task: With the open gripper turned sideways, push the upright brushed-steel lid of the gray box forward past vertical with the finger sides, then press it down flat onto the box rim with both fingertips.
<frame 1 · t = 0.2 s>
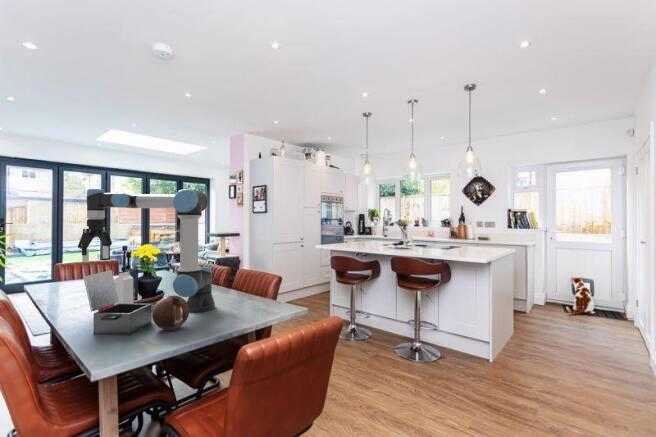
hand: (96, 260, 168), 28 cm above the table, fingers open, 13 cm apart
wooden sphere: (171, 329, 148), on the table
milk: (123, 315, 168), on the table
lid: (99, 290, 149), point 17 cm above the table, hinge at 103.0°
pepper mill: (104, 314, 169), on the table
gray box: (123, 328, 148), on the table
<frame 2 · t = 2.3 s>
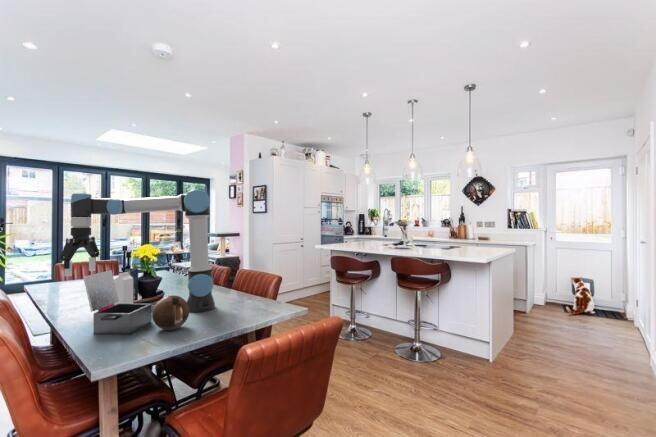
hand: (80, 273, 149), 25 cm above the table, fingers open, 13 cm apart
nothing on the table moved.
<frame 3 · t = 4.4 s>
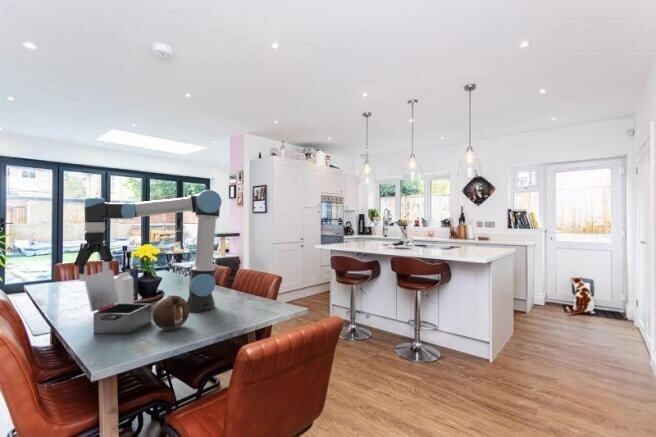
hand: (94, 278, 149), 23 cm above the table, fingers open, 13 cm apart
lid: (100, 290, 149), point 17 cm above the table, hinge at 101.9°, touching gripper
everything else where it was.
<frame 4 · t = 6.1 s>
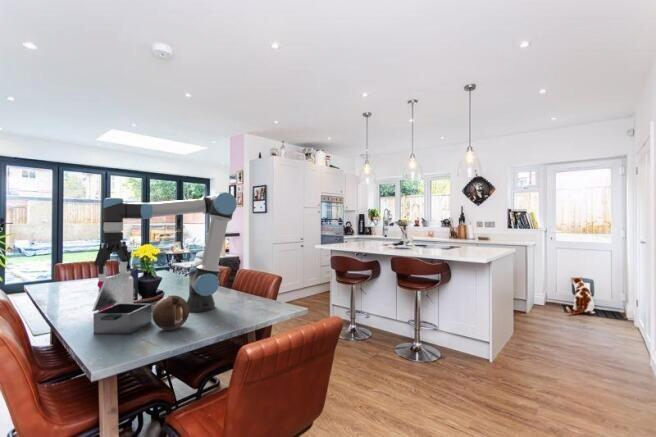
hand: (113, 278, 149), 23 cm above the table, fingers open, 13 cm apart
lid: (110, 289, 149), point 18 cm above the table, hinge at 67.7°
everything else where it was.
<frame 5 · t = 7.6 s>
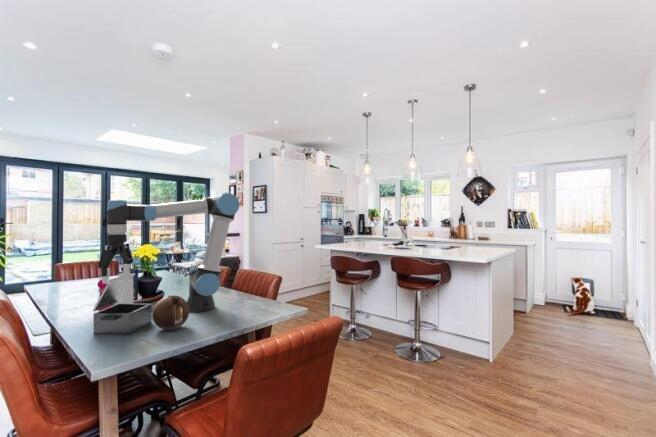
hand: (116, 280, 148), 22 cm above the table, fingers open, 13 cm apart
lid: (113, 290, 149), point 17 cm above the table, hinge at 60.0°, touching gripper
everything else where it was.
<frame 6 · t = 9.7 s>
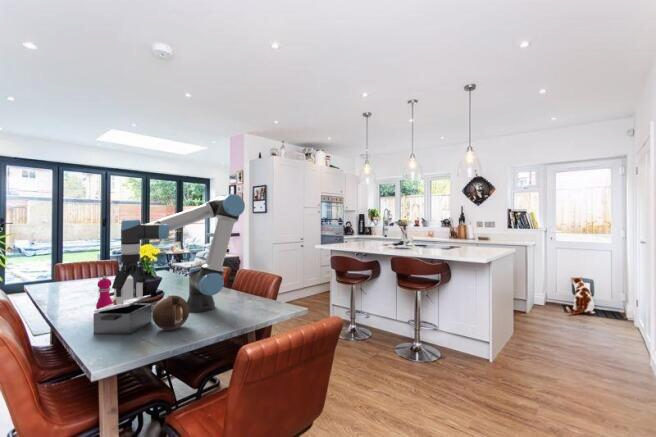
hand: (130, 300, 148), 13 cm above the table, fingers open, 13 cm apart
lid: (123, 301, 148), point 12 cm above the table, hinge at 11.4°, touching gripper
everything else where it was.
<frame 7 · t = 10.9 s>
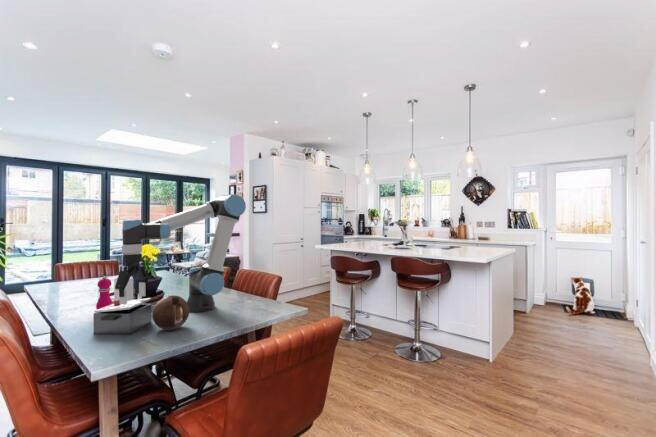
hand: (133, 300, 148), 13 cm above the table, fingers open, 13 cm apart
lid: (124, 302, 148), point 12 cm above the table, hinge at 6.3°
everything else where it was.
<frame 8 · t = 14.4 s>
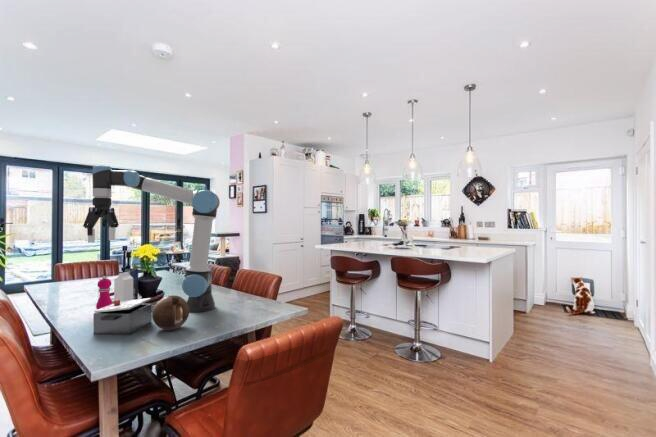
hand: (102, 241, 158), 39 cm above the table, fingers open, 13 cm apart
nothing on the table moved.
at the end: lid at +6° (first picture: +103°) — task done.
